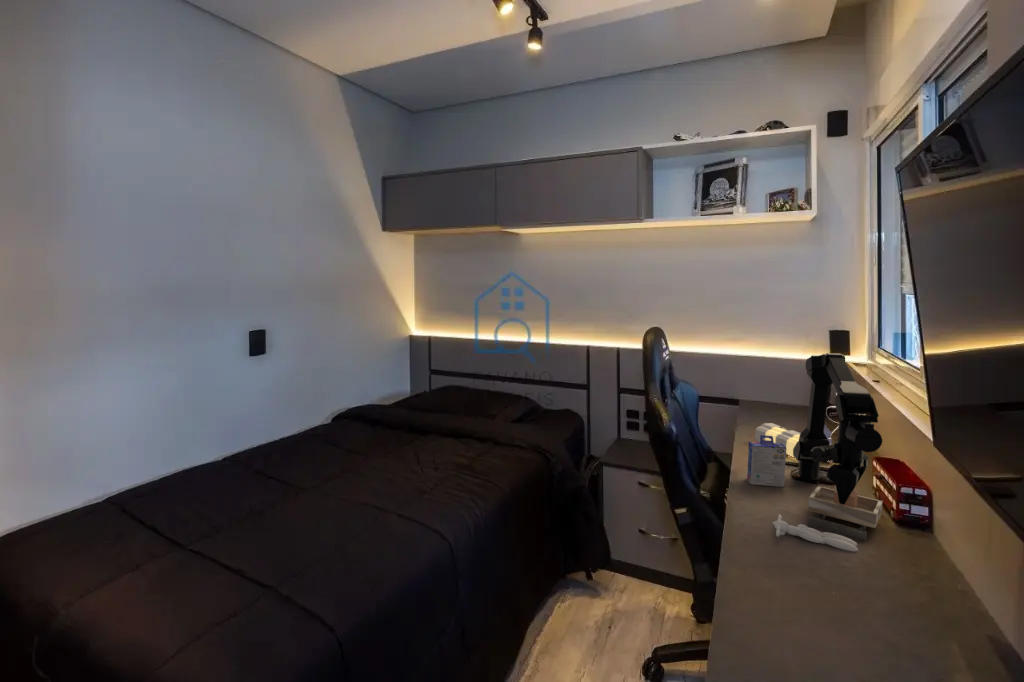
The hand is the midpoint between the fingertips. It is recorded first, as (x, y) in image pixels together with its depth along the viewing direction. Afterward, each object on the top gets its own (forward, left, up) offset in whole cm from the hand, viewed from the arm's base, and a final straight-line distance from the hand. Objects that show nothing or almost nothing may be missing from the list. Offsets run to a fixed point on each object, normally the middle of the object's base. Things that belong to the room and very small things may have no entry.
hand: (845, 498), depth 136 cm
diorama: (-50, -24, -7) cm, 56 cm away
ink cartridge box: (-13, -23, -6) cm, 27 cm away
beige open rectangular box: (0, 0, -6) cm, 6 cm away
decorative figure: (+17, -3, -6) cm, 18 cm away
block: (0, 0, -3) cm, 3 cm away
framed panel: (-5, 0, -6) cm, 8 cm away
